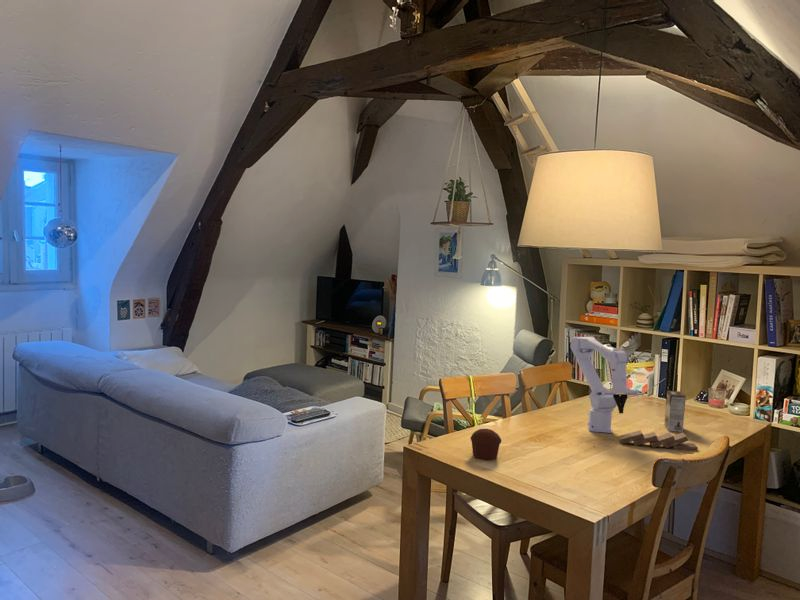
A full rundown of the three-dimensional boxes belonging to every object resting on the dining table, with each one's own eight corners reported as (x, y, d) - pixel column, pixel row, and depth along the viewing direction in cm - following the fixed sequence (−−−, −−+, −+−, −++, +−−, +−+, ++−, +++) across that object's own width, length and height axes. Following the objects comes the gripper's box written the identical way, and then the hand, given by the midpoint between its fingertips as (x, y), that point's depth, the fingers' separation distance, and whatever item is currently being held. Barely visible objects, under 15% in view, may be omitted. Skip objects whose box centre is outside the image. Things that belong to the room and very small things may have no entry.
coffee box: (663, 425, 286) (666, 390, 284) (678, 426, 285) (681, 391, 283) (667, 431, 277) (670, 394, 275) (683, 432, 276) (686, 396, 274)
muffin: (507, 458, 235) (508, 431, 234) (486, 464, 228) (487, 437, 227) (483, 449, 244) (485, 423, 243) (463, 454, 237) (464, 428, 236)
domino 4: (664, 443, 252) (686, 436, 251) (660, 439, 257) (682, 432, 256) (666, 448, 252) (688, 440, 251) (662, 444, 257) (684, 436, 256)
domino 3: (651, 443, 253) (673, 436, 251) (647, 439, 258) (669, 432, 256) (652, 448, 253) (675, 440, 251) (649, 444, 258) (671, 436, 256)
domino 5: (674, 445, 252) (697, 447, 251) (670, 441, 257) (693, 443, 256) (673, 450, 252) (697, 452, 251) (669, 446, 257) (692, 448, 256)
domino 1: (620, 439, 256) (642, 433, 254) (618, 436, 261) (640, 429, 259) (621, 444, 256) (644, 438, 254) (620, 440, 261) (642, 434, 259)
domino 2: (633, 441, 255) (656, 435, 252) (632, 437, 259) (654, 431, 257) (635, 445, 255) (658, 440, 252) (633, 442, 259) (656, 436, 257)
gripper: (602, 380, 261) (603, 414, 260) (639, 380, 258) (641, 414, 257) (600, 379, 268) (602, 412, 267) (636, 379, 265) (638, 412, 264)
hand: (621, 413), depth 262 cm, fingers closed
